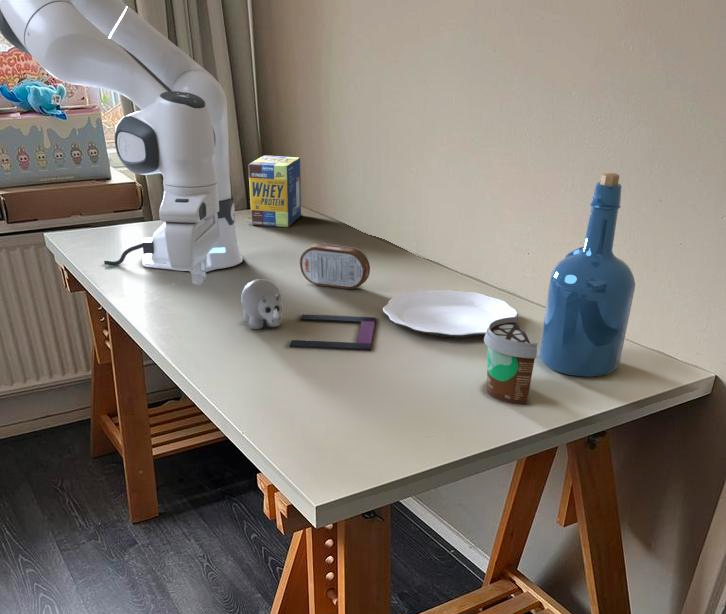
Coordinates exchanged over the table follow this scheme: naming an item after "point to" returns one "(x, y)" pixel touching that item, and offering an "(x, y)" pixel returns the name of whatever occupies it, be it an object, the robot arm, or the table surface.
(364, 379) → the table surface
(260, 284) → the toy rhinoceros
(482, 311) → the plate
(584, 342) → the wine bottle
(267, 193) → the protein box
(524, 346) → the food container
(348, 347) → the u-shaped frame
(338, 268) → the tin
